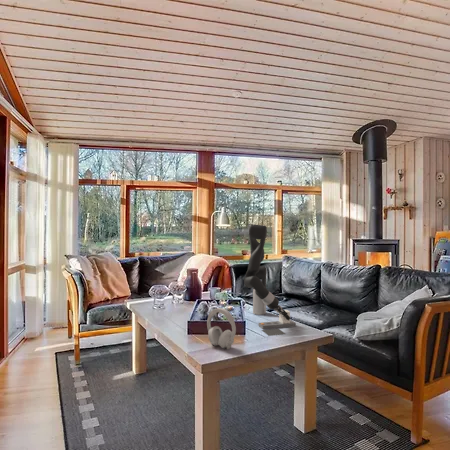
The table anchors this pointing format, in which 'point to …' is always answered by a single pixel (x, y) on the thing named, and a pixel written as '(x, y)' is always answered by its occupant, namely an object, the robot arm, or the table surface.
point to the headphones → (216, 333)
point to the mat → (273, 332)
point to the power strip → (275, 324)
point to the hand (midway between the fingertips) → (287, 317)
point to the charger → (283, 319)
